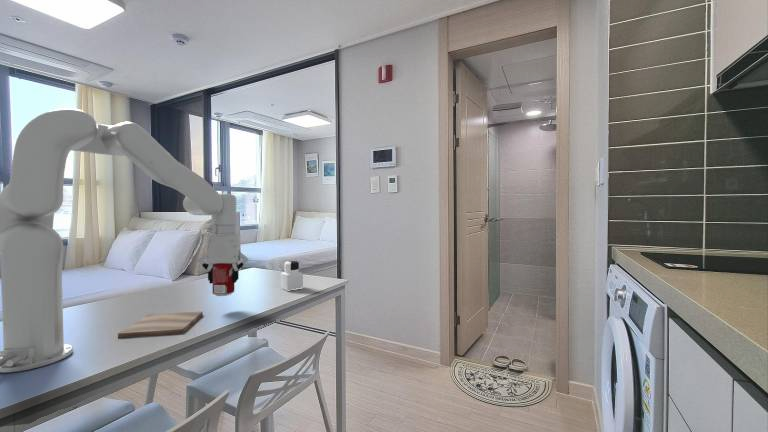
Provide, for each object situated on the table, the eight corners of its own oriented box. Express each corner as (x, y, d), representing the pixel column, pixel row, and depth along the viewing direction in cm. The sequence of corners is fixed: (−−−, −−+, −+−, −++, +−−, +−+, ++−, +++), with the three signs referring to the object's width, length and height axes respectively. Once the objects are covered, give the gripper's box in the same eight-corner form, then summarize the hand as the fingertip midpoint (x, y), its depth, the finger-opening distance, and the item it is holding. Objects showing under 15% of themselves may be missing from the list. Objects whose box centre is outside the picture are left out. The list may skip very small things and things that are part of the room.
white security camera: (296, 286, 147) (295, 259, 147) (303, 289, 142) (302, 261, 141) (280, 288, 143) (280, 261, 142) (287, 292, 137) (287, 263, 137)
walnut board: (182, 333, 92) (182, 329, 92) (117, 337, 89) (117, 333, 89) (202, 315, 108) (202, 311, 108) (148, 318, 105) (148, 314, 105)
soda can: (225, 297, 108) (225, 261, 108) (207, 296, 109) (208, 260, 109) (238, 292, 115) (238, 258, 115) (221, 291, 116) (221, 257, 116)
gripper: (192, 230, 107) (191, 285, 107) (248, 230, 110) (247, 284, 110) (200, 229, 114) (199, 280, 114) (252, 229, 117) (252, 279, 117)
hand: (223, 281), depth 112 cm, fingers closed on soda can, 6 cm apart
